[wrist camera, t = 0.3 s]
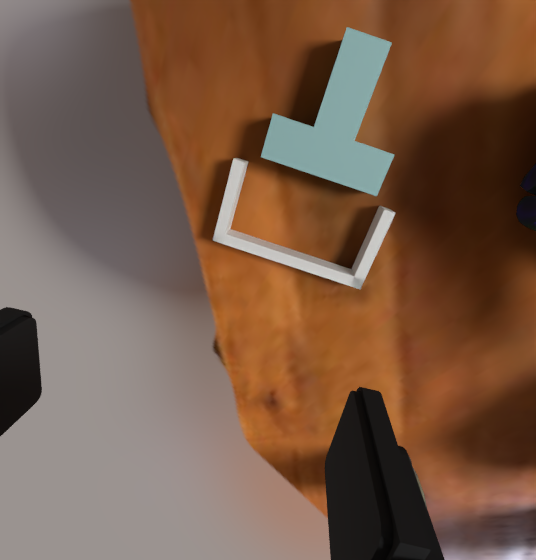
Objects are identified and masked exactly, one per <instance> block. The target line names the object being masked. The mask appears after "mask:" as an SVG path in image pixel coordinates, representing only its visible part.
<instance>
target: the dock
mask: <svg viewBox="0 0 536 560" xmlns="http://www.w3.org/2000/svg"><path fill="white" fill-rule="evenodd" d="M248 162H249V161H246V160H243V159H240V158H233V162H232V166H231V170H230V174H229V178H228V182H227V186H226V190H225V194H224V198H223V202H222V205H221V209H220V213H219V217H218V221H217V225H216V229H215V233H214V237H213V241H215V242H218V243H221V244H224V245H227V246H230V247H233V248H236V249H239V250H243V251H246V252H249V253H252V254H255V255H258V256H261V257H264V258H267V259H270V260H273V261H276V262H279V263H282V264H285V265H288V266H291V267H294V268H297V269H300V270H303V271H306V272H309V273H312V274H315V275H318V276H321V277H324V278H327V279H330V280H333V281H336V282H339V283H342V284H345V285H348V286H351V287H354V288H357V289H361V287H362V284H363V282H364V280H365V278H366V276H367V274H368V271H369V269H370V267H371V265H372V263H373V261H374V259H375V256H376V254H377V252H378V250H379V248H380V246H381V243H382V241H383V239H384V237H385V235H386V233H387V231H388V228H389V226H390V224H391V222H392V220H393V218H394V215H395V212H393V211H392V210H390V209H388V208H385V207H382V206H379V207H378V210H377V212H376V214H375V216H374V219H373V221H372V223H371V226H370V228H369V230H368V232H367V235H366V237H365V239H364V241H363V244H362V246H361V248H360V251H359V253H358V255H357V257H356V260H355V262H354V264H353V266H352V269H349V268H346V267H343V266H340V265H337V264H334V263H331V262H328V261H325V260H322V259H319V258H316V257H313V256H310V255H307V254H304V253H301V252H298V251H295V250H292V249H289V248H286V247H283V246H280V245H277V244H274V243H271V242H268V241H265V240H262V239H259V238H256V237H253V236H250V235H247V234H244V233H241V232H238V231H235V230H232V229H230V228H231V224H232V221H233V217H234V213H235V209H236V206H237V202H238V198H239V195H240V191H241V187H242V184H243V180H244V176H245V173H246V169H247V165H248Z"/></svg>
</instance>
